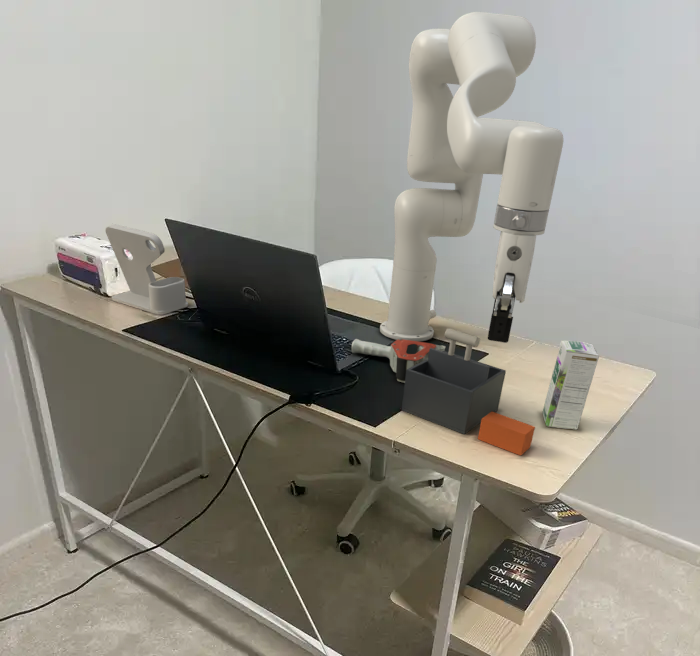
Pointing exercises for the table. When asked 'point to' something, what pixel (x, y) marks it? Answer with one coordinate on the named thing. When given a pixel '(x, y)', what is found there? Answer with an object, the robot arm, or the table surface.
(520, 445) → the orange block
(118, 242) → the phone holder
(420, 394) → the caddy
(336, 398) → the table surface
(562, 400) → the syrup box
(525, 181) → the robot arm
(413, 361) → the tape dispenser
